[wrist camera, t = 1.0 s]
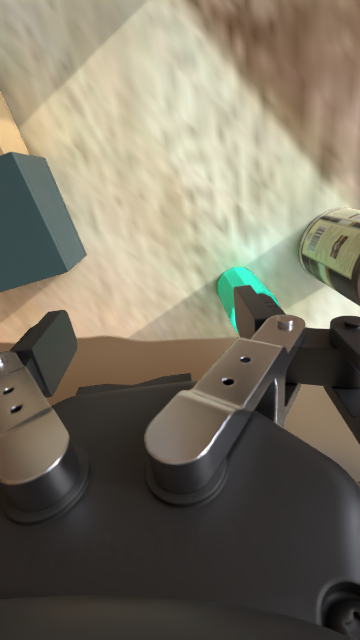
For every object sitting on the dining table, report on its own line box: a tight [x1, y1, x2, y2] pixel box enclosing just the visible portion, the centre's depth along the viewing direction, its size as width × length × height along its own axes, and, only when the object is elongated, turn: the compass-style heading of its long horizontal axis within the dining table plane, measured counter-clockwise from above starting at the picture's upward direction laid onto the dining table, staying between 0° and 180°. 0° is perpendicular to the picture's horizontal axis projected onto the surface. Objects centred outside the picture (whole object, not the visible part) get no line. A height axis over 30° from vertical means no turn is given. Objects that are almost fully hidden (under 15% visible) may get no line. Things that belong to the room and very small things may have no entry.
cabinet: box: [0, 152, 87, 292], centre depth 35 cm, size 12×14×8 cm
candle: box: [217, 267, 280, 332], centre depth 38 cm, size 6×6×12 cm
